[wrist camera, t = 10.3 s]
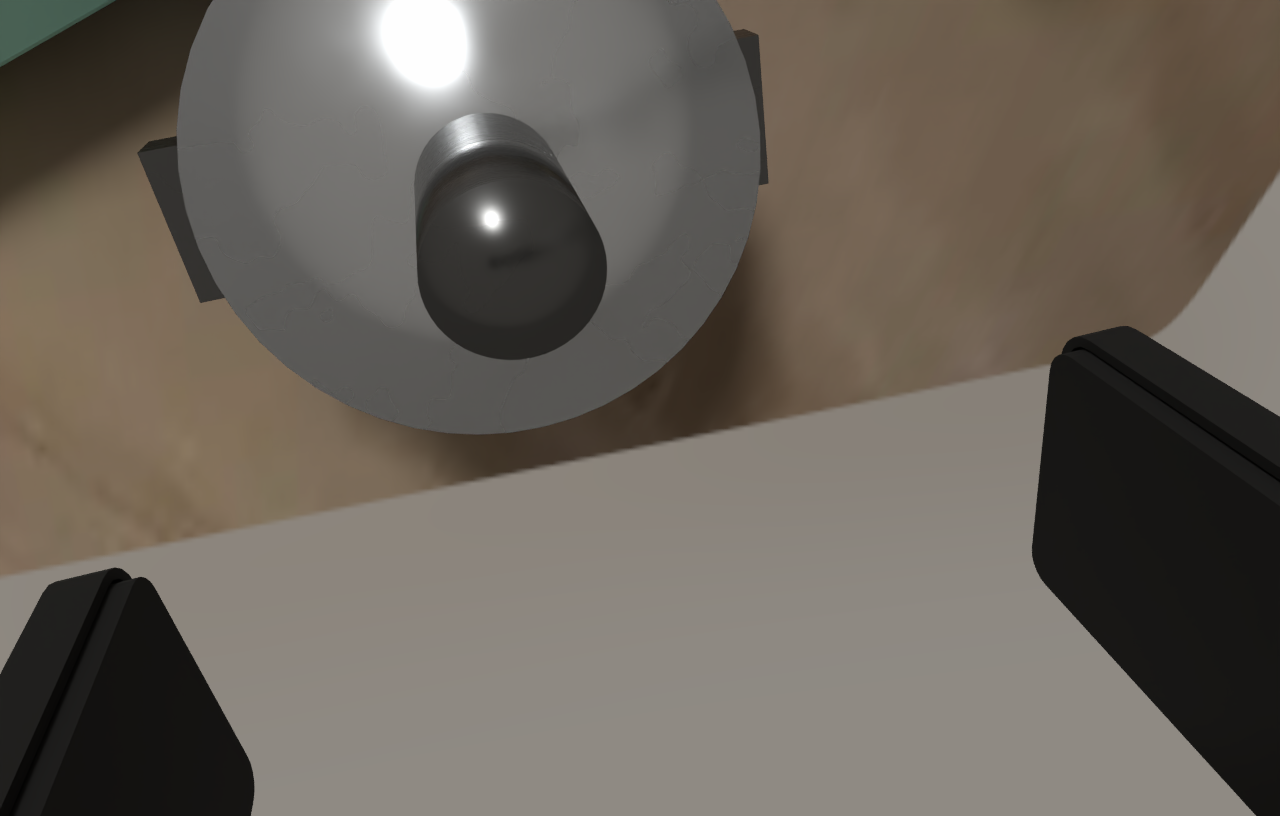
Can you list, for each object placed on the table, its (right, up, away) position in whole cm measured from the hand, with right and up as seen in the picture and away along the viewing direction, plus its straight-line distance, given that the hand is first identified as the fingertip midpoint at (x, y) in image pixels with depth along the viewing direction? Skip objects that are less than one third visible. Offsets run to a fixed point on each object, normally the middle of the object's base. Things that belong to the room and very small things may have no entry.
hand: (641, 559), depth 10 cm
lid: (-4, +7, +14) cm, 16 cm away
